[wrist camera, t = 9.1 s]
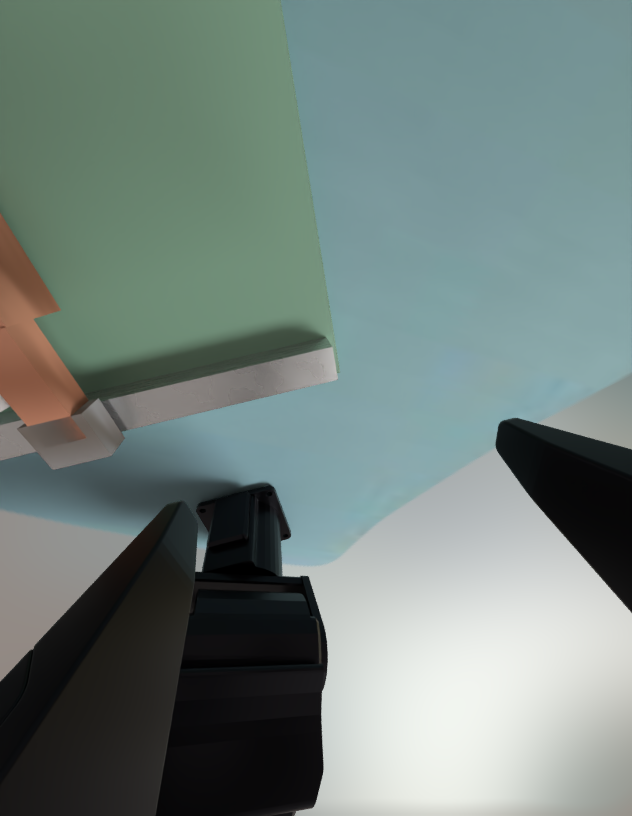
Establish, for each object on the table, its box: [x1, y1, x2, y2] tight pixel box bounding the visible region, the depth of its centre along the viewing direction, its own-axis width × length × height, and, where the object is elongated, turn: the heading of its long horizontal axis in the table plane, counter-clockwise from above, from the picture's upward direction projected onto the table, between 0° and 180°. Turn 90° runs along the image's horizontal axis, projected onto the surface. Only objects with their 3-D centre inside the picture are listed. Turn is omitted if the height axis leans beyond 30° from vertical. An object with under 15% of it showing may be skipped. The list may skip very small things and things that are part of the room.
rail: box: [0, 337, 338, 460], centre depth 17 cm, size 2×21×2 cm, turn 103°
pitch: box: [0, 0, 340, 413], centre depth 14 cm, size 18×22×1 cm
